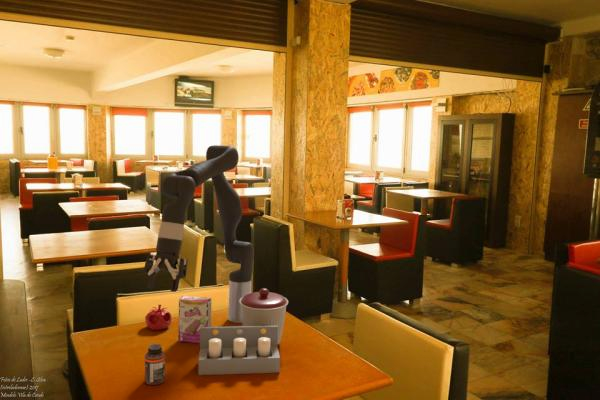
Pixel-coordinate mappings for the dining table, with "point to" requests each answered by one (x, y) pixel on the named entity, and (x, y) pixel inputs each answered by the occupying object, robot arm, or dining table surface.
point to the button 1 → (214, 348)
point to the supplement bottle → (154, 365)
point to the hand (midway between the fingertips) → (161, 289)
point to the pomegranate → (158, 319)
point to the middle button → (239, 347)
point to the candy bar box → (193, 317)
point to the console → (227, 360)
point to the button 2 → (264, 346)
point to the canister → (264, 310)
